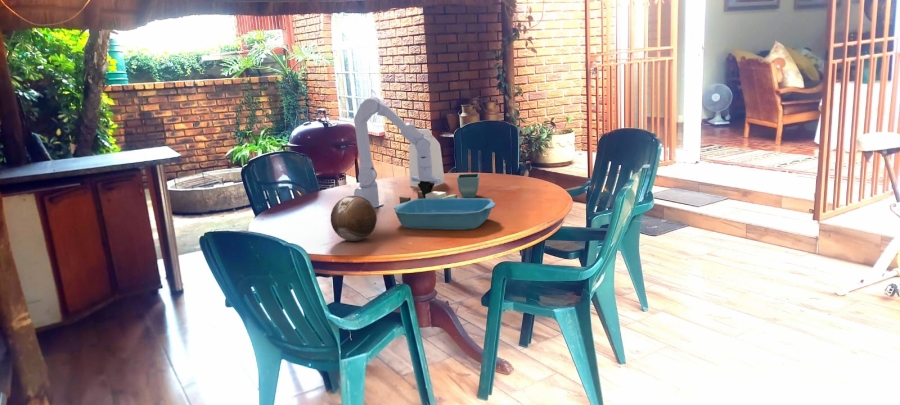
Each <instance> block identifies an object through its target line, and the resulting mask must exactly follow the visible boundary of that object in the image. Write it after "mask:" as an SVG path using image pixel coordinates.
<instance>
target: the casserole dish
mask: <svg viewBox="0 0 900 405" xmlns="http://www.w3.org/2000/svg"><path fill="white" fill-rule="evenodd" d="M496 205H497V204H496V202H494V201H493V199H491V198H482V197H481V198H478V197H477V198H476V197H474V198H463V197H460V198H424V199H418V198H417V199H411V201H408V202H405V203H401V204H400V203H399V204H396V205H395V206H394V207H393V209H394V212H395V214H396V218H397V219H398V221H399V223H400V224H401V225H402V227H404V228H407V229H415V230H445V231H446V230H447V231H449V230H455V231H456V230H457V231H458V230H460V231H461V230H462V231H463V230H473V229H477V228H479V227H480V226H481V225H482V224H484V223H485V221H486V220H488V218H489V217H490V214H491V213H492V212H491V211H492V209H493V208H495V207H496Z"/></svg>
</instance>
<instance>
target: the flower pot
mask: <svg viewBox="0 0 900 405" xmlns="http://www.w3.org/2000/svg"><path fill="white" fill-rule="evenodd" d="M456 179H457V188H458V192H459V194H460V197H461V198H476V196H477V193H478V192H479V191H478V190H479V186H480V173H461V174H460V173H459V174H458V175H457V177H456Z"/></svg>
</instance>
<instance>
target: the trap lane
mask: <svg viewBox="0 0 900 405" xmlns="http://www.w3.org/2000/svg"><path fill="white" fill-rule="evenodd" d="M416 193H417V199H424V197H423V194H422V191H421V190H420V191H417V192H416ZM446 195H447V196H446V197H443V198H461V196H460V197H459V196H458V194H455V193H453V194H446ZM398 198H399V204H401V203H405V202H408V201H411V200H412V199H411V196H405V195H401V196H399V197H398Z"/></svg>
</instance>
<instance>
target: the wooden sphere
mask: <svg viewBox="0 0 900 405" xmlns="http://www.w3.org/2000/svg"><path fill="white" fill-rule="evenodd" d="M377 218H378V217H377V212H376V209H375V208H374V207H373V205H372V204H371V203H370V202H369V201H368V200H367V199H365V198H363V197H360V196H354V195H348V196H345V197H343V198H341V199H340V200H338V201H337V202H336V203H335V205H334V206H333V207H332V210H331V214H330V224H331V225H330V226H331V227H332V229H333V231H334V233H335V234H336V235H337V236H338V237H339V238H342V240H346V241H348V242H358V241H362V240H365V239H366V238H368V237H369V236H371V234H372V233H373V231H374V230H375V228H376V225H377Z"/></svg>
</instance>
